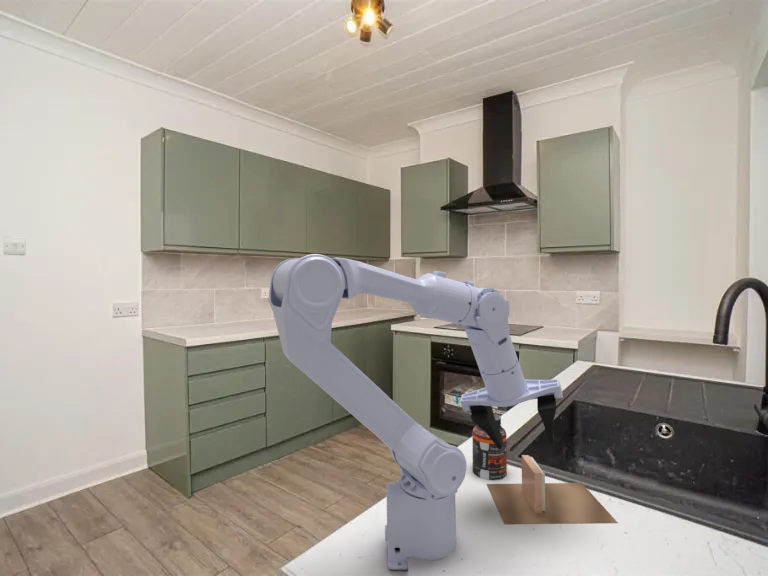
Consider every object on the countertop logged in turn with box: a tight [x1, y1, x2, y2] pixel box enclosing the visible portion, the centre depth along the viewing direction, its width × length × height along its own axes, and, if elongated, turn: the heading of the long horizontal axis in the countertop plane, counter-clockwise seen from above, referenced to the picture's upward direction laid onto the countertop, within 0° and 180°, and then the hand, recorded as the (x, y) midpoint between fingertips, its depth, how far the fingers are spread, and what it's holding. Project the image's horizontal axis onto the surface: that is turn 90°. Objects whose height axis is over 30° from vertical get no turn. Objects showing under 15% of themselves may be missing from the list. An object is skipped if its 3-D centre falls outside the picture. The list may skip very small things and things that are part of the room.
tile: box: [521, 454, 546, 513], centre depth 63 cm, size 2×6×6 cm, turn 179°
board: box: [486, 482, 619, 525], centre depth 63 cm, size 16×11×1 cm
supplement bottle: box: [472, 413, 508, 481], centre depth 73 cm, size 6×6×11 cm
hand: (525, 442), depth 62 cm, fingers open, 7 cm apart
